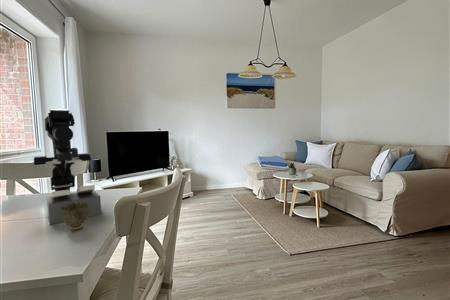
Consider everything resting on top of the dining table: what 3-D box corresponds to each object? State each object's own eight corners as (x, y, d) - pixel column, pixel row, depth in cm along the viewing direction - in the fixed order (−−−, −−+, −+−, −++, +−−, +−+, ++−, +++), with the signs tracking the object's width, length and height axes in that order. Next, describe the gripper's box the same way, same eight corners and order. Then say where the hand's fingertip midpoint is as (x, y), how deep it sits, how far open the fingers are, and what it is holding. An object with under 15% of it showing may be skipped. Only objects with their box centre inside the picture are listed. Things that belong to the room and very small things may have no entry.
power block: (47, 215, 93) (46, 196, 93) (94, 206, 103) (93, 189, 102) (49, 224, 84) (48, 203, 83) (101, 213, 93) (100, 195, 93)
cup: (77, 235, 75) (75, 209, 74) (56, 233, 76) (54, 208, 75) (95, 225, 82) (93, 202, 81) (76, 224, 83) (74, 201, 83)
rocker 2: (77, 194, 95) (76, 189, 96) (91, 192, 98) (91, 187, 99) (79, 192, 89) (79, 186, 89) (95, 190, 92) (94, 184, 93)
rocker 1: (51, 197, 90) (51, 191, 91) (67, 194, 94) (67, 189, 94) (53, 198, 84) (52, 192, 84) (70, 195, 87) (69, 189, 87)
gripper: (32, 143, 86) (36, 187, 87) (92, 140, 97) (94, 179, 99) (32, 142, 95) (35, 182, 96) (87, 140, 106) (89, 175, 107)
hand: (64, 179), depth 99 cm, fingers closed
